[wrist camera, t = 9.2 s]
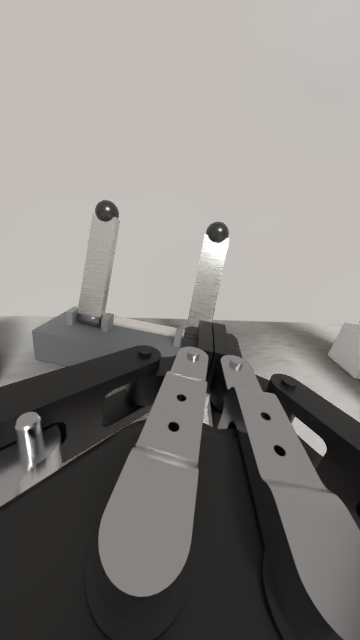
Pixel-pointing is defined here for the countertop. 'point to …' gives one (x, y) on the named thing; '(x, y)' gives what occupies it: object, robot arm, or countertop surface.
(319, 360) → the countertop surface
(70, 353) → the switch console
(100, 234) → the lever
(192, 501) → the robot arm
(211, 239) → the lever
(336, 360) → the medicine bottle
